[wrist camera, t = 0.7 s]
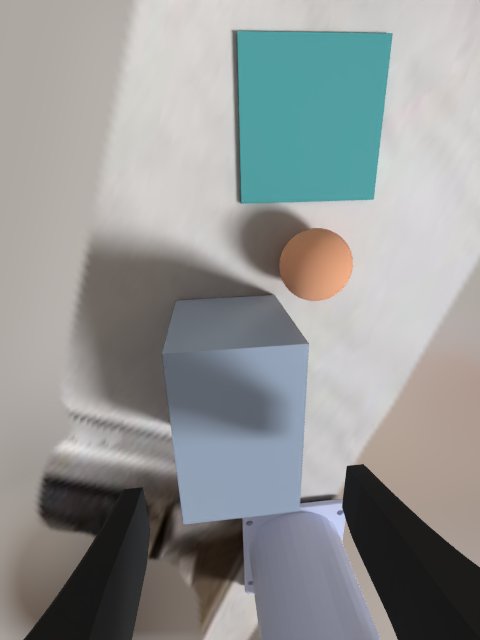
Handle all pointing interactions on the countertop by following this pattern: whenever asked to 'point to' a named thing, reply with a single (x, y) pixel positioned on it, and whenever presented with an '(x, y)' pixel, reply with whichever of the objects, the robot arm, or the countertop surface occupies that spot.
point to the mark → (310, 114)
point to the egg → (316, 264)
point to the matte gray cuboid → (236, 406)
